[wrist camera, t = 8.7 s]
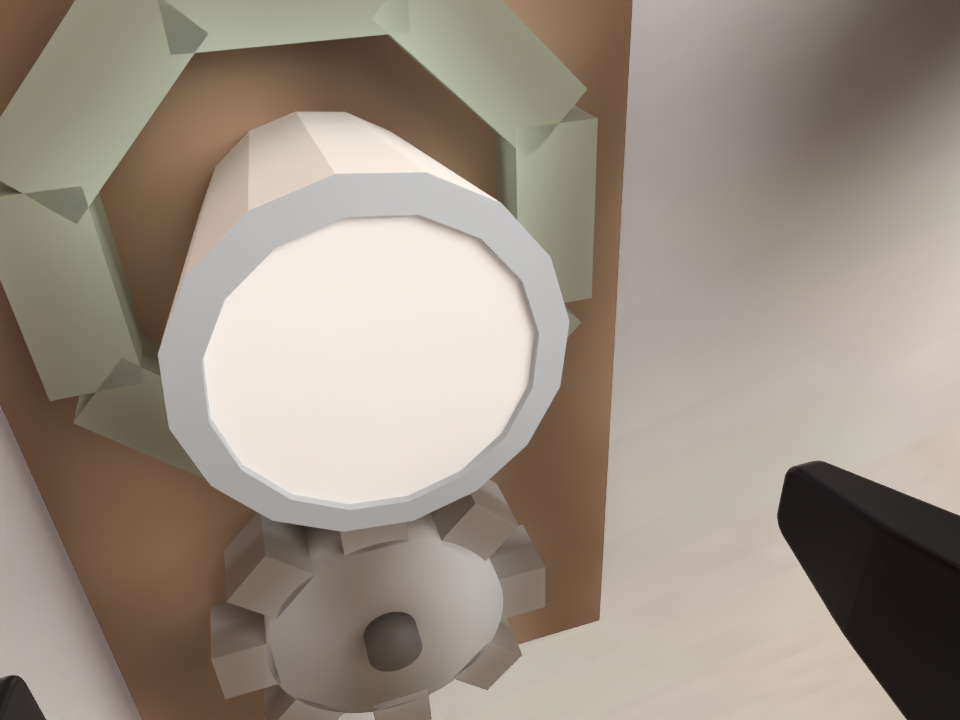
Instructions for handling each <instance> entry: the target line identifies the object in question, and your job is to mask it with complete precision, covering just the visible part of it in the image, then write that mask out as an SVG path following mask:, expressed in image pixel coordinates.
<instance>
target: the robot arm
mask: <svg viewBox="0 0 960 720" xmlns="http://www.w3.org/2000/svg"><path fill="white" fill-rule="evenodd" d="M777 518H778V524H779V528H780V530H781V533H782V535H783V536H784V538H785V540H786V541H787V543H788V545H789V546H790V548H791V550H792V551H793V553H794V554H795V556H796V558H797V559H798V561H799V563H800V564H801V566H802V568H803V569H804V571H805V573H806V574H807V576H808V578H809V579H810V581H811V582H812V584H813V586H814V587H815V589H816V591H817V592H818V594H819V596H820V597H821V599H822V601H823V602H824V604H825V606H826V607H827V609H828V611H829V612H830V614H831V615H832V617H833V619H834V620H835V622H836V623H837V625H838V626H839V628H840V630H841V631H842V633H843V634H844V636H845V637H846V638H847V640H848V641H849V643H850V644H851V645H852V647H853V648H854V650H855V651H856V652H857V654H858V655H859V656H860V658H861V659H862V660H863V662H864V663H865V664H866V666H867V667H868V669H869V670H870V671H871V673H872V674H873V675H874V677H875V678H876V679H877V681H878V682H879V683H880V685H881V686H882V687H883V689H884V690H885V691H886V693H887V694H888V695H889V697H890V698H891V699H892V701H893V702H894V703H895V705H896V706H897V707H898V709H899V710H900V711H901V713H902V714H903V715H904V717H905V718H906V719H907V720H960V516H959V515H957V514H954V513H951V512H949V511H946V510H944V509H941V508H939V507H936V506H934V505H931V504H929V503H926V502H924V501H921V500H919V499H916V498H914V497H911V496H909V495H906V494H904V493H901V492H899V491H896V490H894V489H891V488H889V487H886V486H884V485H881V484H879V483H876V482H874V481H871V480H869V479H866V478H864V477H861V476H859V475H856V474H854V473H851V472H849V471H846V470H844V469H841V468H839V467H836V466H833V465H831V464H828V463H826V462H823V461H812V462H808V463H804V464H800V465H797V466H793V467H791V468H790V469H789V470H788V471H787V473H786V475H785V479H784V484H783V489H782V493H781V498H780V503H779V508H778V513H777ZM0 720H46V719H45V717H44V715H43V713H42V711H41V710H40V708H39V706H38V704H37V702H36V701H35V699H34V697H33V695H32V693H31V692H30V690H29V688H28V686H27V685H26V683H25V682H24V680H23V679H22V678H21V677H19V676H16V675H13V676H12V675H10V676H7V677H3V678H0Z"/></svg>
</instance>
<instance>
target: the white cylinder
mask: <svg viewBox="0 0 960 720" xmlns="http://www.w3.org/2000/svg"><path fill="white" fill-rule="evenodd" d="M569 322H570V321H569V318H568V315H567V311H566V308H565V304H564V301H563V297H562V294H561V291H560V287H559V284H558V280H557V277H556V273H555V270H554V266H553V263H552V260H551V257H550V256H549V255H548V254H547V252H546V251H545V250H544V249H543V248H542V247H541V246H540V245H539V244H538V243H537V241H536V240H535V239H534V238H533V237H532V236H531V235H530V234H529V233H528V232H527V230H526V229H525V228H524V227H523V226H522V225H521V224H520V223H519V222H518V221H517V219H516V218H515V217H514V216H513V215H512V214H511V213H510V212H509V211H508V210H507V209H506V207H505V206H504V205H503V204H502V203H500V202H499V201H497V200H496V199H494V198H493V197H491V196H490V195H488V194H486V193H485V192H483V191H482V190H480V189H479V188H477V187H476V186H474V185H473V184H471V183H469V182H468V181H466V180H465V179H463V178H462V177H460V176H459V175H457V174H456V173H454V172H452V171H451V170H449V169H448V168H446V167H445V166H443V165H442V164H440V163H439V162H437V161H435V160H434V159H432V158H431V157H429V156H428V155H426V154H425V153H423V152H422V151H420V150H418V149H417V148H415V147H414V146H412V145H411V144H409V143H408V142H406V141H405V140H403V139H401V138H400V137H398V136H397V135H395V134H394V133H392V132H391V131H389V130H386V129H384V128H382V127H379V126H377V125H375V124H372V123H370V122H368V121H365V120H363V119H361V118H359V117H356V116H354V115H352V114H349V113H347V112H293V113H291V114H288V115H286V116H284V117H281V118H279V119H276V120H274V121H272V122H269V123H267V124H264V125H262V126H260V127H257V128H255V129H252V130H250V131H249V132H248V133H247V134H246V135H245V136H244V137H243V138H242V139H241V140H240V141H239V142H238V143H237V144H236V145H235V146H234V147H233V148H232V149H231V150H230V151H229V153H228V154H227V155H226V156H225V157H224V158H223V159H222V160H221V161H220V162H219V163H218V164H217V165H216V166H215V169H214V172H213V175H212V177H211V180H210V183H209V186H208V189H207V192H206V195H205V198H204V201H203V204H202V207H201V210H200V213H199V216H198V220H197V223H196V226H195V230H194V233H193V237H192V240H191V243H190V247H189V250H188V254H187V257H186V260H185V264H184V267H183V271H182V274H181V277H180V281H179V284H178V288H177V291H176V294H175V298H174V301H173V304H172V308H171V311H170V315H169V318H168V321H167V325H166V328H165V332H164V335H163V338H162V342H161V345H160V349H159V352H158V360H159V366H160V373H161V380H162V386H163V393H164V399H165V406H166V412H167V419H168V426H169V429H170V431H171V432H172V433H173V435H174V436H175V437H176V439H177V440H178V442H179V443H180V444H181V446H182V447H183V448H184V450H185V451H186V453H187V454H188V455H189V457H190V458H191V459H192V461H193V462H194V463H195V465H196V466H197V468H198V469H199V470H200V472H201V473H202V474H203V476H204V477H205V479H206V480H207V481H208V483H209V484H210V485H211V486H212V487H214V488H216V489H217V490H219V491H221V492H223V493H224V494H226V495H228V496H230V497H231V498H233V499H235V500H237V501H239V502H240V503H242V504H244V505H246V506H247V507H249V508H251V509H253V510H254V511H256V512H258V513H260V514H261V515H263V516H265V517H267V518H269V519H270V520H272V521H278V522H284V523H290V524H297V525H303V526H309V527H316V528H322V529H328V530H335V531H341V532H344V531H351V530H357V529H364V528H370V527H377V526H383V525H390V524H396V523H403V522H409V521H414V520H416V519H418V518H420V517H422V516H424V515H427V514H429V513H431V512H433V511H435V510H437V509H439V508H441V507H443V506H446V505H448V504H450V503H452V502H454V501H456V500H458V499H460V498H462V497H465V496H467V495H469V494H471V493H473V492H475V491H477V490H478V489H479V488H480V487H481V486H482V485H484V484H485V483H486V482H487V481H488V480H489V479H490V478H491V477H492V476H493V475H495V474H496V473H497V472H498V471H499V470H500V469H501V468H502V467H503V466H504V465H506V464H507V463H508V462H509V461H510V460H511V459H512V458H513V457H514V456H516V455H517V454H518V453H519V452H520V451H521V450H522V449H523V448H524V447H525V446H527V445H528V443H529V441H530V439H531V437H532V436H533V434H534V432H535V430H536V429H537V427H538V425H539V423H540V421H541V420H542V418H543V416H544V414H545V413H546V411H547V409H548V407H549V406H550V404H551V402H552V400H553V398H554V397H555V395H556V393H557V391H558V390H559V388H560V384H561V377H562V370H563V364H564V357H565V350H566V343H567V336H568V329H569Z"/></svg>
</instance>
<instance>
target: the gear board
mask: <svg viewBox="0 0 960 720" xmlns="http://www.w3.org/2000/svg"><path fill="white" fill-rule="evenodd" d="M631 18H632V0H0V404H1V406H2V408H3V411H4V413H5V415H6V417H7V420H8V422H9V424H10V426H11V428H12V431H13V433H14V435H15V437H16V440H17V442H18V444H19V446H20V448H21V451H22V453H23V455H24V457H25V460H26V462H27V464H28V466H29V468H30V471H31V473H32V475H33V477H34V480H35V482H36V484H37V486H38V488H39V491H40V493H41V495H42V497H43V500H44V502H45V504H46V506H47V508H48V511H49V513H50V515H51V517H52V520H53V522H54V524H55V526H56V528H57V531H58V533H59V535H60V537H61V540H62V542H63V544H64V546H65V548H66V551H67V553H68V555H69V557H70V560H71V562H72V564H73V566H74V568H75V571H76V573H77V575H78V577H79V580H80V582H81V584H82V586H83V588H84V591H85V593H86V595H87V597H88V600H89V602H90V604H91V606H92V608H93V611H94V613H95V615H96V617H97V620H98V622H99V624H100V626H101V628H102V631H103V633H104V635H105V637H106V640H107V642H108V644H109V646H110V648H111V651H112V653H113V655H114V657H115V660H116V662H117V664H118V666H119V668H120V671H121V673H122V675H123V677H124V680H125V682H126V684H127V686H128V689H129V691H130V693H131V695H132V697H133V700H134V702H135V704H136V706H137V709H138V711H139V713H140V715H141V717H142V720H337V719H338V718H339V717H340V716H341V715H342V714H343V713H362V712H374V716H375V720H431V712H430V704H429V696H428V695H429V694H431V693H433V692H435V691H436V690H438V689H440V688H442V687H443V686H445V685H447V684H448V683H450V682H451V681H453V680H454V679H456V680H459V681H462V682H465V683H468V684H471V685H474V686H477V687H480V688H483V689H486V690H488V689H489V688H490V687H491V686H492V685H493V684H494V683H495V682H496V681H497V680H498V679H499V678H500V677H501V676H502V675H503V674H504V672H505V671H506V670H507V669H508V668H509V667H510V666H511V665H512V664H513V663H514V662H515V661H516V660H517V659H518V658H519V657H520V656H521V655H522V653H521V651H520V649H519V646H518V644H521V643H524V642H527V641H531V640H534V639H537V638H541V637H544V636H547V635H551V634H554V633H557V632H561V631H564V630H568V629H571V628H574V627H578V626H581V625H584V624H588V623H591V622H594V621H598V620H599V618H600V599H601V580H602V561H603V543H604V524H605V505H606V486H607V468H608V449H609V430H610V411H611V393H612V374H613V355H614V336H615V318H616V299H617V280H618V261H619V243H620V224H621V205H622V186H623V168H624V149H625V130H626V111H627V93H628V74H629V55H630V36H631ZM293 112H347V113H349V114H352V115H354V116H356V117H359V118H361V119H363V120H365V121H368V122H370V123H372V124H375V125H377V126H379V127H382V128H384V129H386V130H389V131H391V132H392V133H394V134H395V135H397V136H398V137H400V138H401V139H403V140H405V141H406V142H408V143H409V144H411V145H412V146H414V147H415V148H417V149H418V150H420V151H422V152H423V153H425V154H426V155H428V156H429V157H431V158H432V159H434V160H435V161H437V162H439V163H440V164H442V165H443V166H445V167H446V168H448V169H449V170H451V171H452V172H454V173H456V174H457V175H459V176H460V177H462V178H463V179H465V180H466V181H468V182H469V183H471V184H473V185H474V186H476V187H477V188H479V189H480V190H482V191H483V192H485V193H486V194H488V195H490V196H491V197H493V198H494V199H496V200H497V201H499V202H500V203H502V204H503V205H504V206H505V207H506V209H507V210H508V211H509V212H510V213H511V214H512V215H513V216H514V217H515V218H516V219H517V221H518V222H519V223H520V224H521V225H522V226H523V227H524V228H525V229H526V230H527V232H528V233H529V234H530V235H531V236H532V237H533V238H534V239H535V240H536V241H537V243H538V244H539V245H540V246H541V247H542V248H543V249H544V250H545V251H546V252H547V254H548V255H549V256H550V257H551V260H552V263H553V266H554V270H555V273H556V277H557V280H558V284H559V287H560V291H561V294H562V297H563V301H564V304H565V308H566V311H567V315H568V318H569V321H570V322H569V329H568V336H567V343H566V350H565V357H564V364H563V370H562V377H561V384H560V388H559V390H558V391H557V393H556V395H555V397H554V398H553V400H552V402H551V404H550V406H549V407H548V409H547V411H546V413H545V414H544V416H543V418H542V420H541V421H540V423H539V425H538V427H537V429H536V430H535V432H534V434H533V436H532V437H531V439H530V441H529V443H528V445H527V446H525V447H524V448H523V449H522V450H521V451H520V452H519V453H518V454H517V455H516V456H514V457H513V458H512V459H511V460H510V461H509V462H508V463H507V464H506V465H504V466H503V467H502V468H501V469H500V470H499V471H498V472H497V473H496V474H495V475H493V476H492V477H491V478H490V479H489V480H488V481H487V482H486V483H485V484H484V485H482V486H481V487H480V488H479V489H478V490H477V491H475V492H473V493H471V494H469V495H467V496H465V497H462V498H460V499H458V500H456V501H454V502H452V503H450V504H448V505H446V506H443V507H441V508H439V509H437V510H435V511H433V512H431V513H429V514H427V515H424V516H422V517H420V518H418V519H416V520H414V521H409V522H403V523H396V524H390V525H383V526H377V527H370V528H364V529H357V530H351V531H344V532H341V531H335V530H328V529H322V528H316V527H309V526H303V525H297V524H290V523H284V522H278V521H272V520H270V519H269V518H267V517H265V516H263V515H261V514H260V513H258V512H256V511H254V510H253V509H251V508H249V507H247V506H246V505H244V504H242V503H240V502H239V501H237V500H235V499H233V498H231V497H230V496H228V495H226V494H224V493H223V492H221V491H219V490H217V489H216V488H214V487H212V486H211V485H210V484H209V483H208V481H207V480H206V479H205V477H204V476H203V474H202V473H201V472H200V470H199V469H198V468H197V466H196V465H195V463H194V462H193V461H192V459H191V458H190V457H189V455H188V454H187V453H186V451H185V450H184V448H183V447H182V446H181V444H180V443H179V442H178V440H177V439H176V437H175V436H174V435H173V433H172V432H171V431H170V429H169V426H168V419H167V412H166V406H165V399H164V393H163V386H162V380H161V373H160V366H159V360H158V352H159V349H160V345H161V342H162V338H163V335H164V332H165V328H166V325H167V321H168V318H169V315H170V311H171V308H172V304H173V301H174V298H175V294H176V291H177V288H178V284H179V281H180V277H181V274H182V271H183V267H184V264H185V260H186V257H187V254H188V250H189V247H190V243H191V240H192V237H193V233H194V230H195V226H196V223H197V220H198V216H199V213H200V210H201V207H202V204H203V201H204V198H205V195H206V192H207V189H208V186H209V183H210V180H211V177H212V175H213V172H214V169H215V166H216V165H217V164H218V163H219V162H220V161H221V160H222V159H223V158H224V157H225V156H226V155H227V154H228V153H229V151H230V150H231V149H232V148H233V147H234V146H235V145H236V144H237V143H238V142H239V141H240V140H241V139H242V138H243V137H244V136H245V135H246V134H247V133H248V132H249V131H250V130H252V129H255V128H257V127H260V126H262V125H264V124H267V123H269V122H272V121H274V120H276V119H279V118H281V117H284V116H286V115H288V114H291V113H293Z"/></svg>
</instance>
